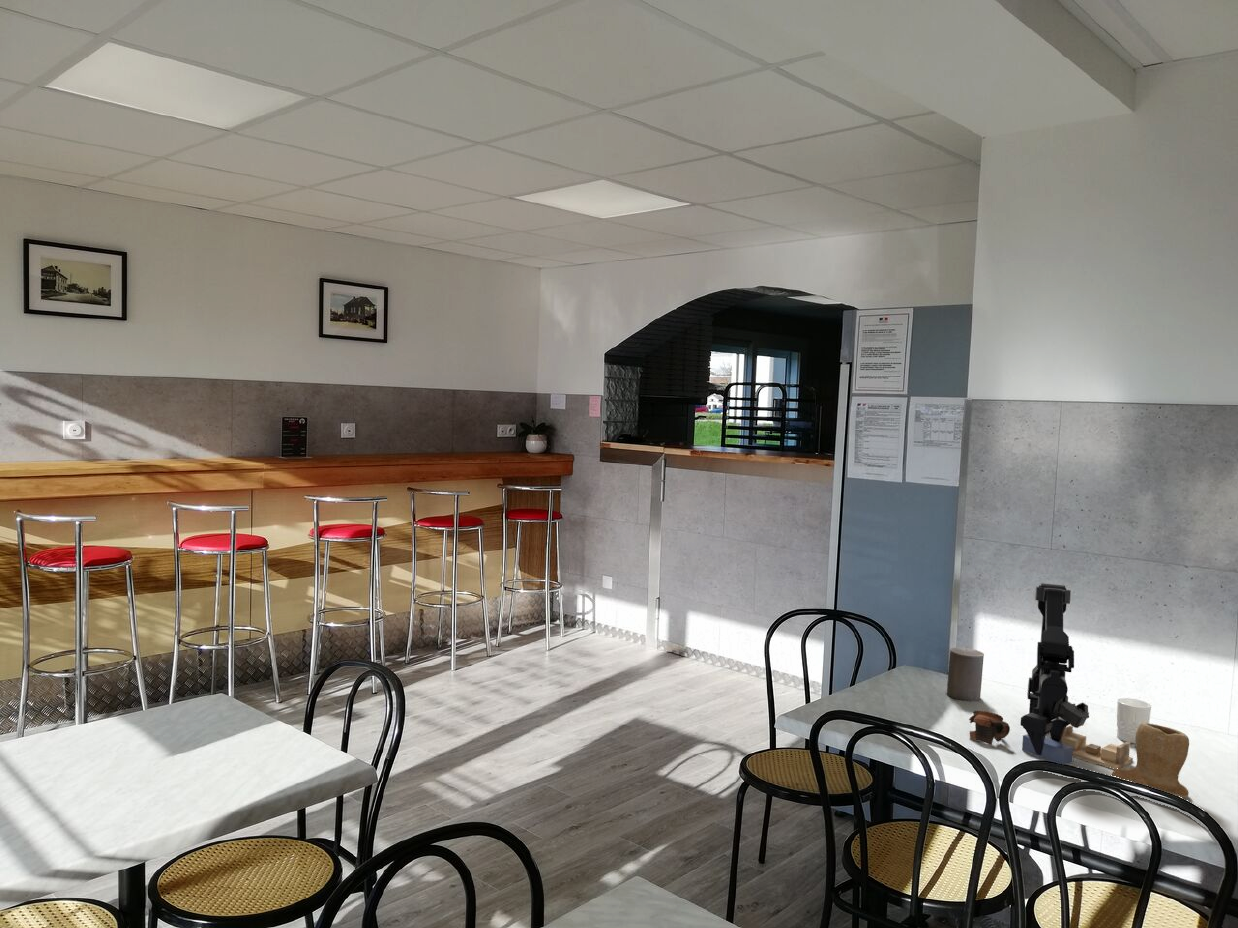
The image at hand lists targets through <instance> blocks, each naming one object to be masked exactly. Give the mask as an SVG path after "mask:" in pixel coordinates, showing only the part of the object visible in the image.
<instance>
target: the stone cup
mask: <svg viewBox="0 0 1238 928" xmlns="http://www.w3.org/2000/svg"><path fill="white" fill-rule="evenodd" d="M1135 743H1136V744H1135ZM1135 743H1134V744H1135V751H1136V765H1135V766H1134V767H1133V768H1130V769H1129V768H1118V769H1115V770H1114V769H1113V771H1112V772H1111V774H1110V776H1111V775H1112V776H1116V777H1119V778H1121V779H1125V780H1129V781H1132V782H1135V783H1139V784H1143V785H1148V786H1150V787H1153V788H1156V789H1159V790H1162V791H1165V792H1168V793H1171V794H1174V795H1175V796H1180V797H1182V798H1184V799H1186V798H1187V797H1189V789H1187V787H1186V786H1184V785H1183V784H1182V783H1180V781H1179V777H1180V776H1179V775H1180V772H1181V770H1182V768H1183V766H1184V764H1185V763H1186V761H1187V757H1188V754H1189V747H1190V739H1189V737H1188V736H1187V734H1185V733H1184V732H1182V731H1181V730H1178V729H1174V728H1171V727H1168V726H1164V725H1159V724H1155V723H1150V722H1149V723H1142V724H1140V726H1139V728H1138V730H1137V732H1136V738H1135Z"/></svg>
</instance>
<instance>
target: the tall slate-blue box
mask: <svg viewBox="0 0 1238 928" xmlns="http://www.w3.org/2000/svg"><path fill="white" fill-rule="evenodd" d="M1021 750H1022V751H1024V752H1027V753H1029V754H1031V753H1032V754H1031V755H1034V756H1036V757H1039V758H1043V759H1045V760H1047V761H1049V762H1050V761H1051V762H1052V763H1056V764H1058V765H1061V764H1062V766H1064V765H1068V764H1072V763H1073V759H1074V757H1073V747H1071V746H1068V745H1065V744H1062V743H1059V742H1057V741H1054V740H1051V738H1048V737H1045V741H1044V745H1043V750H1042V754H1041V755H1038V754H1036V752H1035V750H1034V747H1033V745H1032V742H1031V740H1030V738H1029V736H1028V734H1027V733H1026V734H1024V735H1022V747H1021Z"/></svg>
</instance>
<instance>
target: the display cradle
mask: <svg viewBox="0 0 1238 928" xmlns="http://www.w3.org/2000/svg"><path fill="white" fill-rule="evenodd" d="M1073 728H1074V727H1073V726H1071V725H1068V726H1067V727H1066V728H1065V730H1064V733H1063V735H1062V738H1061V740H1060V743H1062V744H1065V745H1068V746H1071V747H1073V758H1074V759H1078V760H1081V759H1082V761H1085V762H1088V763H1091V762H1092V763H1091V764H1095V765H1098V764H1099V765H1098V766H1101V765H1102V766H1101V767H1104V766H1105V768H1108V767H1111V768H1114V769H1117V768H1120V767H1121V768H1123V767H1125V766H1126V765H1128V764H1130V763H1133V761H1134V760H1133V759H1134V758H1133V757H1132V756H1130V749H1131V748H1130V747H1131V743H1129V742H1126V741H1124V743H1122V744H1120V745H1117V744H1114V743H1110V744H1108V745H1105V746H1103V747H1102V746H1100V745H1098V744H1093V743H1089V744H1087V735H1083V734H1080V733H1075V732H1073ZM1111 768H1110V769H1111ZM1121 768H1120V769H1121ZM1114 769H1113V770H1114Z"/></svg>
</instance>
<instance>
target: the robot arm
mask: <svg viewBox="0 0 1238 928" xmlns="http://www.w3.org/2000/svg"><path fill="white" fill-rule="evenodd" d="M1034 592H1035V596H1034V599H1035V601H1037V609H1038V611H1039V613H1041V615H1042V620H1041V633H1040V641H1038V642H1037V646H1036V647H1037V648H1036V665H1035V666H1034V668H1032V670H1031V677H1028V682H1027V700H1029V709H1028V711H1029V712H1028V713H1027V714H1024V715H1023V716H1021V717H1020V724H1019V725H1020V727H1022V728H1023V729H1024V730H1025V732H1026V735H1027V734H1028V736H1029V738H1030V740H1031V742H1032V745H1033V747H1034V750H1035V752H1036V754H1038V755H1041V754H1042V750H1043V745H1044V741H1045V738H1046V736H1047V735H1050V739H1051V740H1054V741H1057V742H1059V743H1060V740H1061V738H1062V735H1063V733H1064V730H1065V728H1066V727H1068V726H1072V727H1073V728H1075V729H1076V728H1077V729H1078V728H1080V727H1081V726H1082V727H1083V726H1084V725H1085V722H1086V721H1087V719H1089V718H1090V712H1089V706H1088V705H1087V704H1086V703H1085V702H1080V703H1078V704H1077V705H1076V703H1071V702H1070V701H1069V696H1068V691H1069V690H1068V688H1069V687H1068V684H1067V680H1066V673H1072V669H1074V668H1075V650H1074V649H1073V646H1072V645H1070V638H1069V637H1070V636H1069V635H1068V634H1067V633H1066V632H1065V631H1064V614H1065V612H1066V611H1067V605H1068V604H1069V605H1070V604H1071V593H1072V591H1071V589H1067V588H1066V585H1063V584H1054V583H1053V584H1052V583H1043V582H1041V583H1040V585H1038V586H1036V587H1035V591H1034ZM1067 664H1068V665H1067Z"/></svg>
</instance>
